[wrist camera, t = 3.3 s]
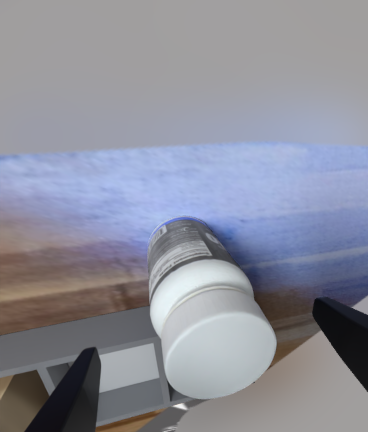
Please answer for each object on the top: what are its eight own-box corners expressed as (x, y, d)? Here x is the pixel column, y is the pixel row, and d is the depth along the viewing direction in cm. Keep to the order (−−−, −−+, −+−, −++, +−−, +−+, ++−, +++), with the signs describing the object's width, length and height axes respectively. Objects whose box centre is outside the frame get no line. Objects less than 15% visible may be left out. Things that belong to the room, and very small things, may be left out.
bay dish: (241, 287, 17) (259, 313, 14) (239, 350, 20) (254, 382, 17) (-61, 347, 14) (-107, 395, 11) (-14, 414, 16) (-43, 465, 14)
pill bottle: (220, 257, 16) (297, 371, 8) (163, 283, 15) (184, 426, 8) (200, 202, 14) (274, 281, 6) (135, 230, 14) (126, 349, 6)
